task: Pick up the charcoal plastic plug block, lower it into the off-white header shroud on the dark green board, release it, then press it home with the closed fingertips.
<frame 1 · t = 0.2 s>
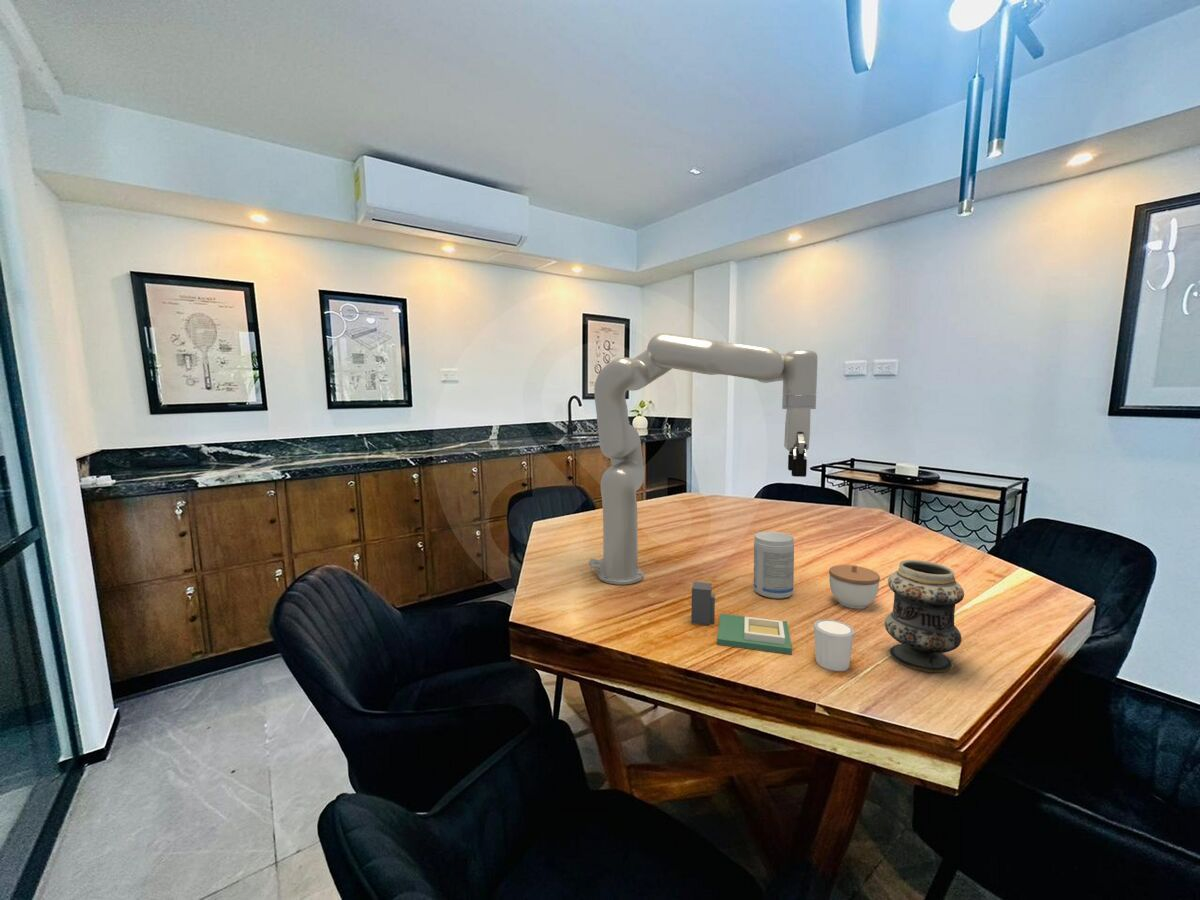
hand: (796, 473, 119), 31 cm above the table, fingers open, 9 cm apart
plug: (701, 620, 108), on the table
white cylinder: (832, 663, 91), on the table
supplement tub: (772, 593, 124), on the table
lidded jar: (852, 604, 117), on the table
board: (753, 635, 101), on the table
apothecary jar: (919, 659, 92), on the table
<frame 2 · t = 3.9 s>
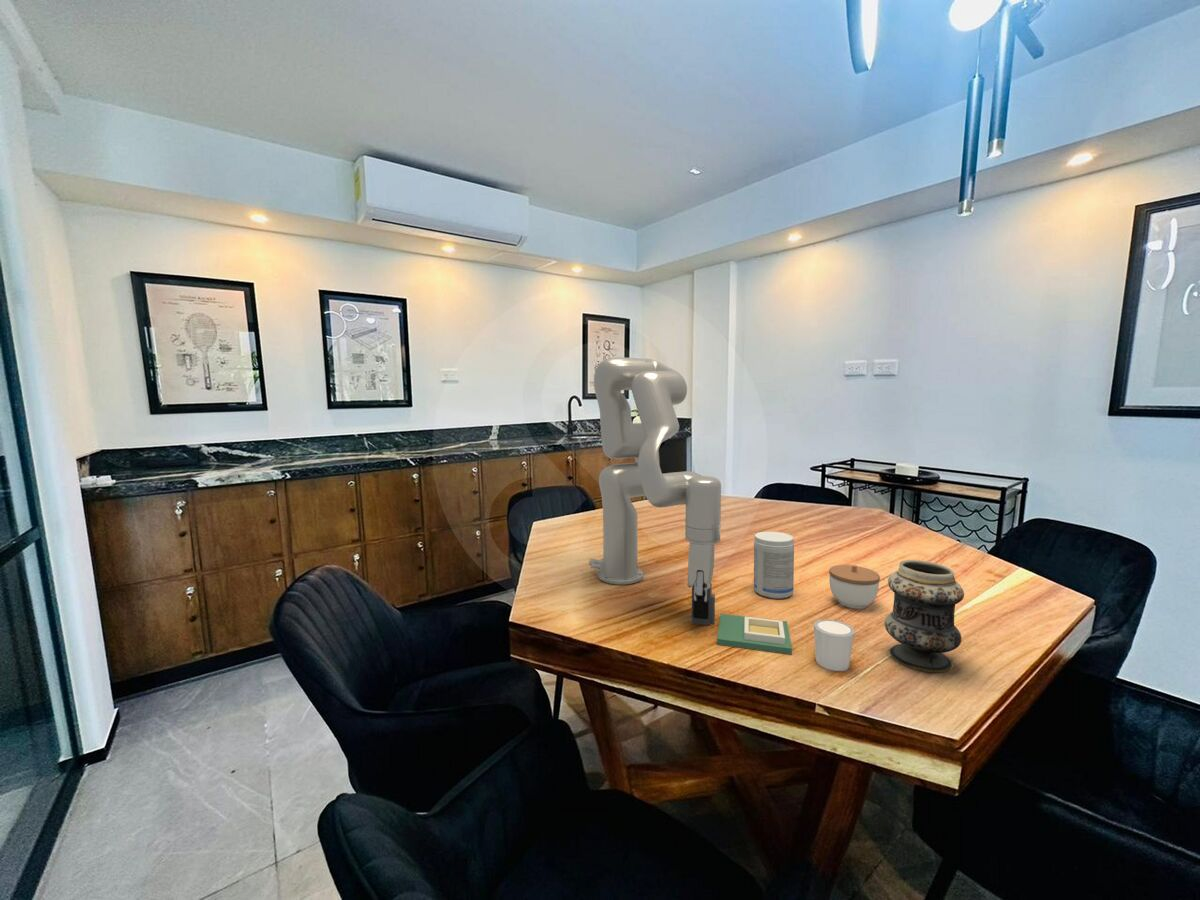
hand: (701, 612, 108), 2 cm above the table, fingers closed on plug, 4 cm apart
plug: (701, 620, 108), on the table, touching gripper
everything else where it was.
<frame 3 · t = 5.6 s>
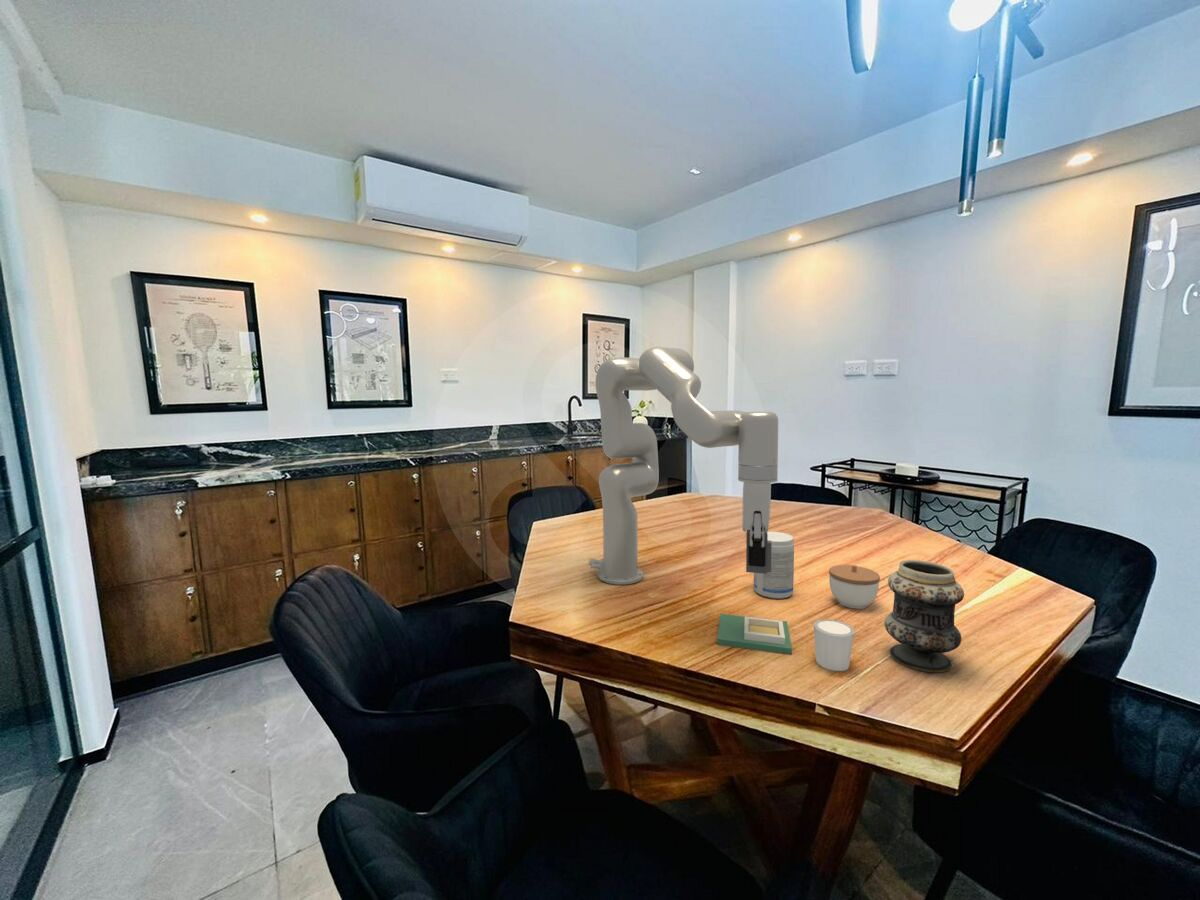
hand: (756, 561, 99), 16 cm above the table, fingers closed on plug, 4 cm apart
plug: (756, 569, 99), point 14 cm above the table, touching gripper
everything else where it was.
when the fingers open (4 cm above the table, at t = 7.7 s): plug stays where it is, resting on board.
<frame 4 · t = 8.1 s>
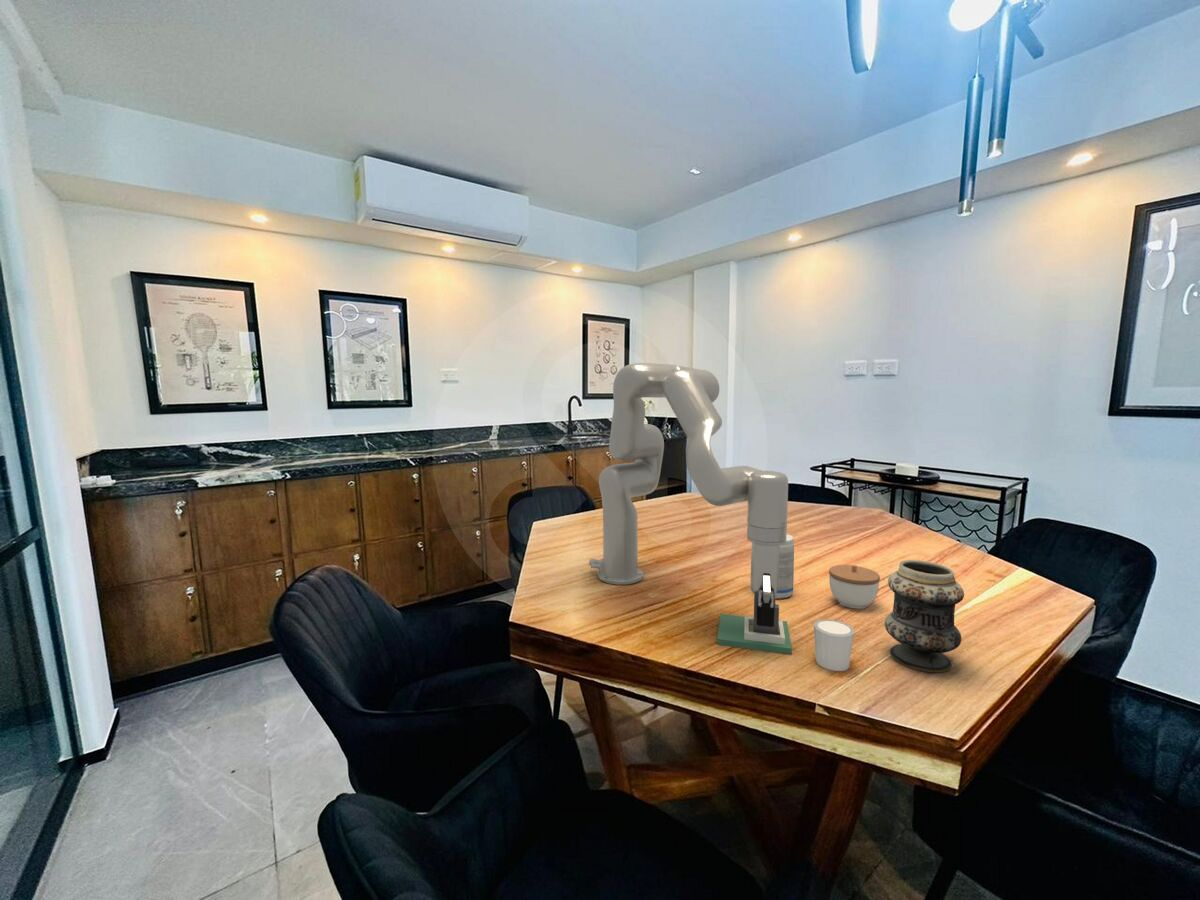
hand: (764, 615, 99), 5 cm above the table, fingers open, 8 cm apart
plug: (763, 632, 100), point 1 cm above the table, touching board
everything else where it was.
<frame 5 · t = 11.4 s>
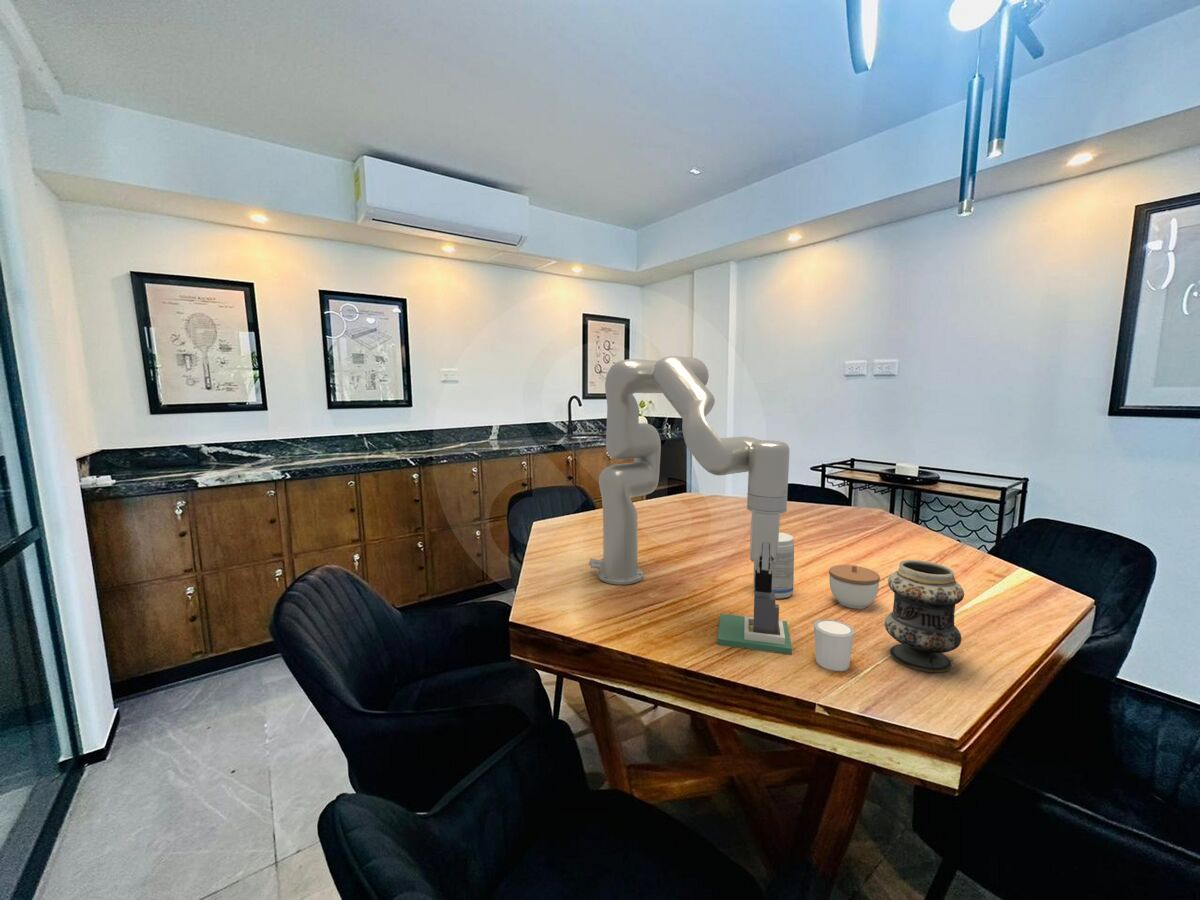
hand: (762, 590, 99), 10 cm above the table, fingers closed
nothing on the table moved.
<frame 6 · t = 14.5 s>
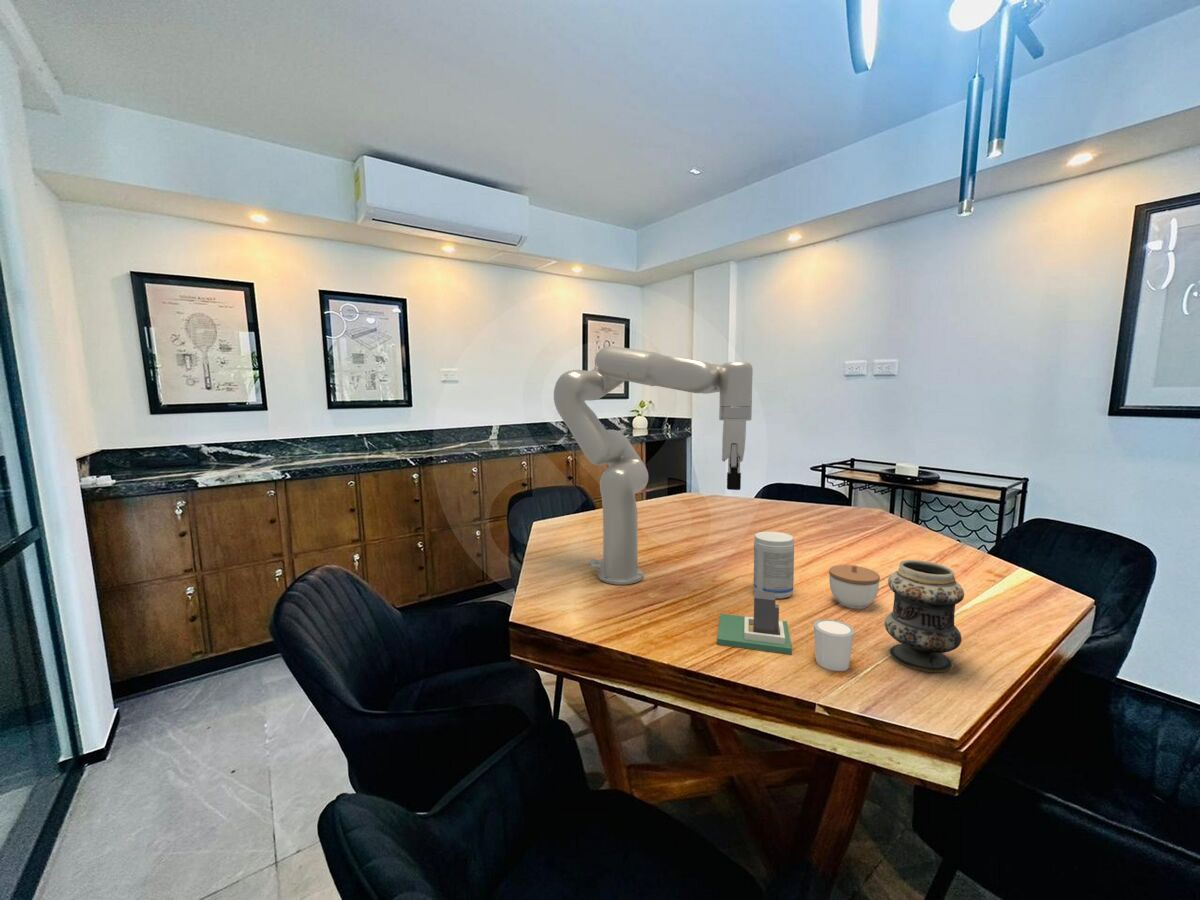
hand: (733, 489, 119), 27 cm above the table, fingers closed
nothing on the table moved.
at the end: plug 0.0 cm from the target spot on the board, point 1.3 cm above the board's base; plug tilted 0°; the gripper is holding nothing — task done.
